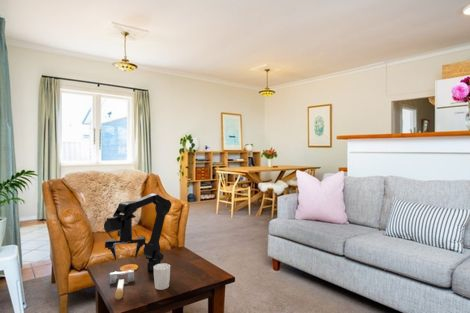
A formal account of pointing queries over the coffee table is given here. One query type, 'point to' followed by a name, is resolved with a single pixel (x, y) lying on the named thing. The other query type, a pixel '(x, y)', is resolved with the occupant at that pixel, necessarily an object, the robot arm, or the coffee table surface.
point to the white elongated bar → (119, 289)
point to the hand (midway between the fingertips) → (125, 259)
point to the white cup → (161, 276)
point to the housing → (114, 275)
